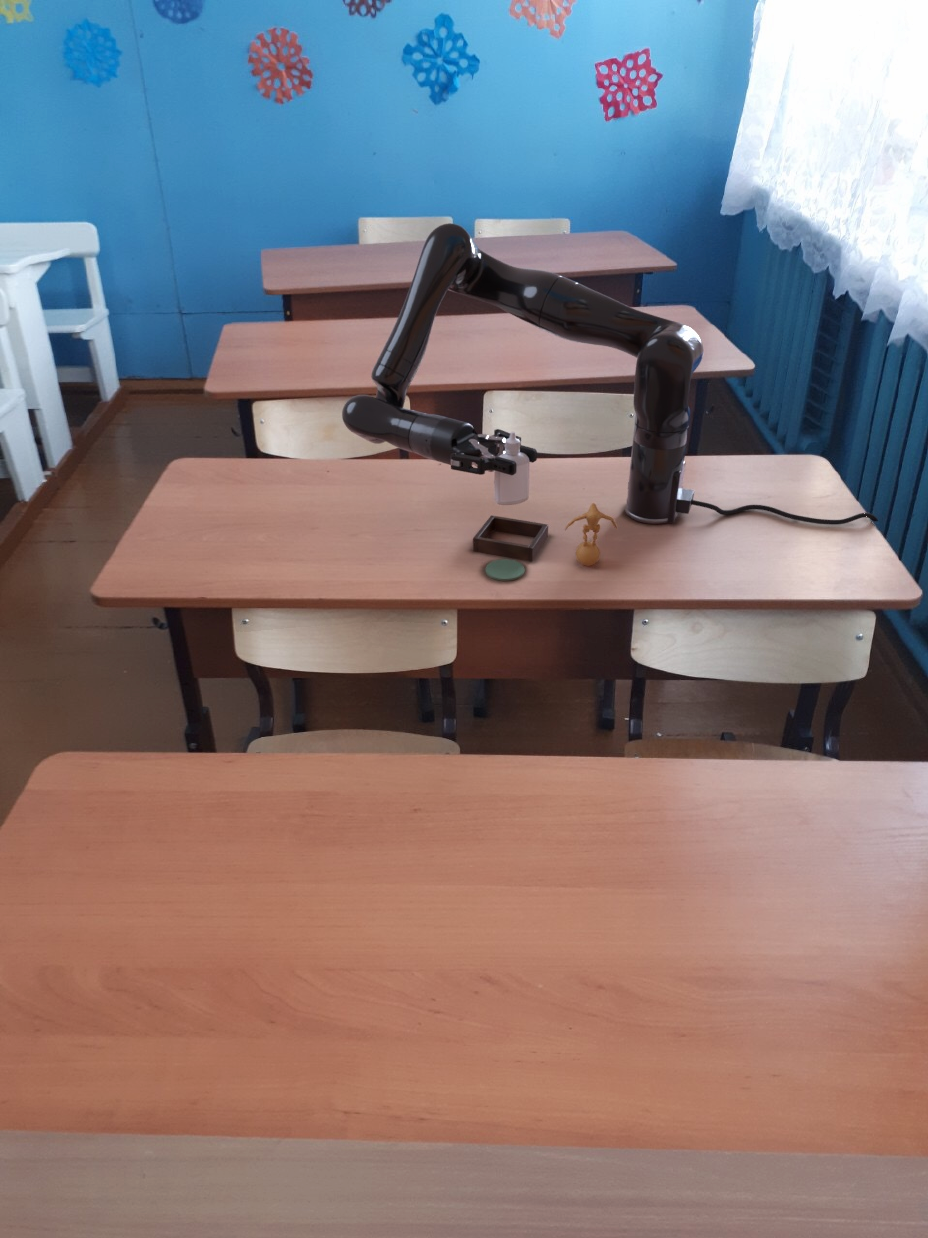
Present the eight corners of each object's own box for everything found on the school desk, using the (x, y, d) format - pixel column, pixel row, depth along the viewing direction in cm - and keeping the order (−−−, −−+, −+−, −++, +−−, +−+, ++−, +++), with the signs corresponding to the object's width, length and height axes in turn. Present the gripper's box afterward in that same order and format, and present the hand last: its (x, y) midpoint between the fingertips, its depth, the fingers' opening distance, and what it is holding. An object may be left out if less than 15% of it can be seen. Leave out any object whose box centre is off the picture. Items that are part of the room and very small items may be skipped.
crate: (547, 537, 153) (548, 524, 152) (532, 561, 146) (532, 548, 145) (490, 527, 156) (491, 515, 155) (473, 551, 149) (472, 538, 148)
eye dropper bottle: (526, 507, 144) (528, 438, 137) (492, 505, 144) (493, 436, 138) (529, 495, 147) (531, 428, 140) (496, 493, 148) (497, 426, 141)
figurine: (610, 557, 147) (616, 492, 140) (615, 575, 142) (622, 509, 135) (560, 558, 147) (564, 493, 140) (564, 576, 142) (568, 510, 135)
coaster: (529, 564, 145) (529, 562, 145) (517, 583, 140) (517, 581, 140) (493, 558, 147) (493, 556, 147) (480, 576, 142) (480, 574, 142)
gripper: (414, 431, 142) (500, 455, 133) (466, 405, 151) (550, 426, 143) (416, 474, 146) (500, 499, 138) (467, 446, 156) (548, 468, 147)
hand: (525, 462), depth 140 cm, fingers closed on eye dropper bottle, 5 cm apart
